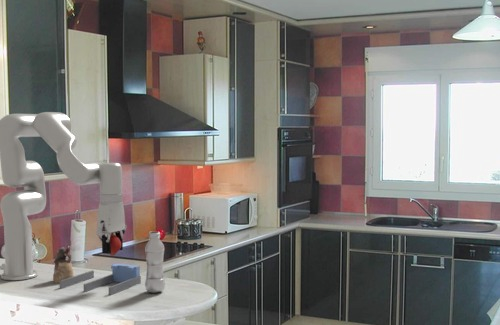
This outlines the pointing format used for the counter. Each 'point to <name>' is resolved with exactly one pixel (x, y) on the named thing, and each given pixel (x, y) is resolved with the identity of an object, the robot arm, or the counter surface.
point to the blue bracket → (124, 272)
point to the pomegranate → (114, 244)
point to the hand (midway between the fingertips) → (112, 251)
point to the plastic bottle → (154, 263)
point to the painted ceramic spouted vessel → (62, 265)
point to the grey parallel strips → (100, 282)
